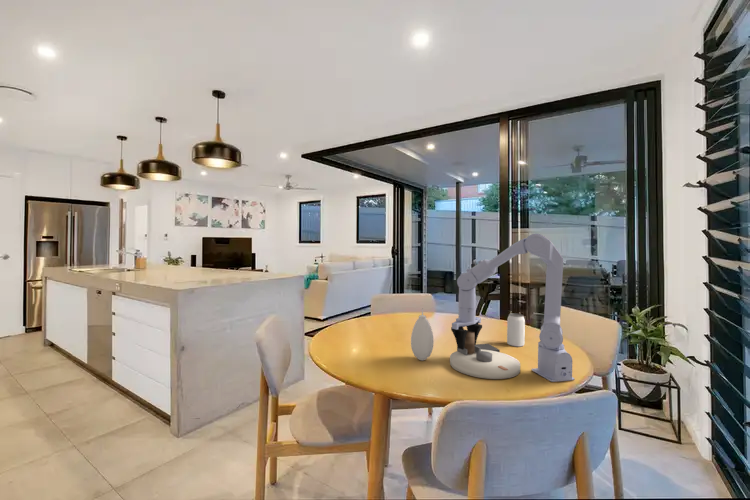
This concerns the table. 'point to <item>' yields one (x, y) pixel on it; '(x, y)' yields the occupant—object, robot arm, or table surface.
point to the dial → (485, 363)
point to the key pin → (470, 342)
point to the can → (516, 330)
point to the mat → (487, 347)
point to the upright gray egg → (422, 338)
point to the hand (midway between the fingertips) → (466, 346)
